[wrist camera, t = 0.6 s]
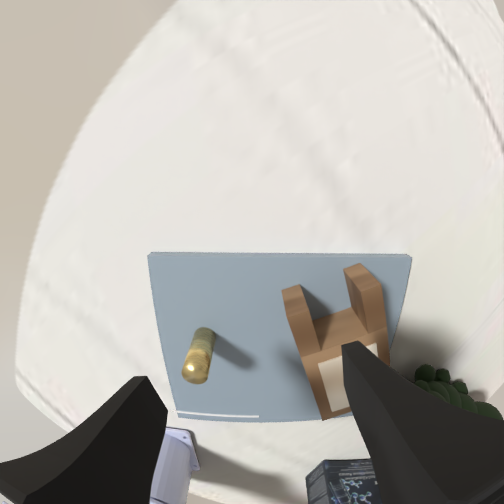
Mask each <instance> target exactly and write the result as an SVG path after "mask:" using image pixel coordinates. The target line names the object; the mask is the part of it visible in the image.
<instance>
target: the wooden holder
mask: <svg viewBox="0 0 504 504" xmlns="http://www.w3.org/2000/svg"><path fill="white" fill-rule="evenodd" d="M343 272H344V276H345V280H346V284H347V289H348V293H349V298H350V303H351V307H349V308H347V309H344V310H341V311H339V312H336V313H333V314H330V315H327V316H324V317H321V318H319V319H316V320H313V321H312V319H311V315H310V312H309V309H308V306H307V303H306V300H305V298H304V295H303V292H302V289H301V287H300V284H298V285H295V286H292V287H289V288H286V289H283V290H281V292H282V297H283V302H284V307H285V312H286V317H287V320H288V323H289V326H290V328H291V331H292V334H293V337H294V340H295V343H296V345H297V348H298V351H299V354H300V357H301V360H302V363H303V366H304V368H305V371H306V374H307V377H308V380H309V383H310V386H311V389H312V392H313V394H314V397H315V400H316V403H317V406H318V409H319V412H320V415H321V418H322V421H323V420H327V419H330V418H333V417H336V416H339V415H343V414H346V413H348V412H351V409H350V405H349V402H348V399H347V395H346V391H345V388H344V382H343V364H342V350H341V345H343V344H347V343H350V342H354V341H357V340H358V341H360V342H361V343H362V344H363V345H365V346H366V347H367V348H368V349H369V350H370V351H371V352H372V353H374V354H375V355H376V356H377V357H378V358H380V359H381V360H382V361H383V362H384V363H386V364H387V365H388V366H390V356H389V344H388V333H387V324H386V315H385V307H384V300H383V293H382V286H381V283H380V282H379V281H378V280H377V279H376V278H375V277H374V276H373V275H372V274H371V273H370V272H369V271H368V270H367V269H366V268H365V267H364V266H363V265H362V264H361V263H358V264H355V265H353V266H350V267H347V268H344V269H343Z"/></svg>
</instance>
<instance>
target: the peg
mask: <svg viewBox="0 0 504 504" xmlns="http://www.w3.org/2000/svg"><path fill="white" fill-rule="evenodd" d="M215 341H216V335H215V333H214V331H213V330H211V329H209V328H206V327H201V328H198V329H197V330H196V331H195V332H194V335H193V338H192V341H191V344H190V347H189V350H188V353H187V356H186V359H185V362H184V365H183V368H182V371H181V374H182V377H183V378H184V379H185V380H186V381H187V382H189V383H192V384H203V383H205V382H206V381H207V379H208V374H209V370H210V365H211V360H212V355H213V351H214V346H215Z"/></svg>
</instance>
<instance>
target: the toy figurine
mask: <svg viewBox="0 0 504 504" xmlns="http://www.w3.org/2000/svg"><path fill="white" fill-rule="evenodd" d="M415 381H416V382H415V383H414V384H415V385H416V386H418V387H420V388H421V389H423V390H425V391H426V392H428V393H430V394H432V395H433V396H435V397H437V398H439V399H441V400H443V401H445V402H448V403H450V404H452V405H454V406H457V407H460V408H462V409H465V410H468V411H471V412H473V413H476V414H479V415H483V416H487V417H491V418H495V419H499V420H503V417H502V415H501V414H500V412H499V411H498V410H497V408H495V407H494V406H492V405H491V404H489V403H486V402H474V400H473V399H472V398H471V397H470V396H468V395H467V394H468V390H467V386H466V384H465V383H463V382H458V381H457V382H455V383H453V384H452V385H450V384H448V383H449V381H450V374H449V371H448V370H445V369H440V370H438V371H437V372H435V369H434V368H433V367H432V366H431V365H428V364H425V365H421V366H420V367H419V368H418V369H417V370H416V372H415Z"/></svg>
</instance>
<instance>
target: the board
mask: <svg viewBox="0 0 504 504" xmlns="http://www.w3.org/2000/svg"><path fill="white" fill-rule="evenodd" d="M147 257H148V266H149V274H150V281H151V289H152V295H153V302H154V308H155V314H156V320H157V326H158V331H159V337H160V342H161V347H162V352H163V356H164V361H165V366H166V370H167V374H168V379H169V383H170V387H171V391H172V395H173V399H174V402H175V406H176V410H171V411H172V412H177V413H178V417H180V418H188V419H198V420H210V421H226V422H291V421H307V420H319V419H322V418H321V415H320V412H319V409H318V406H317V403H316V400H315V397H314V394H313V392H312V389H311V386H310V383H309V380H308V377H307V374H306V371H305V368H304V366H303V363H302V360H301V357H300V354H299V351H298V348H297V345H296V343H295V340H294V337H293V334H292V331H291V328H290V326H289V323H288V320H287V317H286V312H285V307H284V302H283V297H282V292H281V290H283V289H286V288H289V287H292V286H295V285H298V284H300V287H301V289H302V292H303V295H304V298H305V300H306V303H307V306H308V309H309V312H310V315H311V319H312V321H313V320H316V319H319V318H321V317H324V316H327V315H330V314H333V313H336V312H339V311H341V310H344V309H347V308H349V307H351V303H350V298H349V293H348V289H347V284H346V280H345V276H344V272H343V269H344V268H347V267H350V266H353V265H355V264H358V263H361V264H362V265H363V266H364V267H365V268H366V269H367V270H368V271H369V272H370V273H371V274H372V275H373V276H374V277H375V278H376V279H377V280H378V281H379V282H380V283H381V286H382V293H383V300H384V307H385V315H386V324H387V333H388V344H389V351H390V348H391V344H392V341H393V338H394V334H395V331H396V327H397V323H398V320H399V316H400V312H401V308H402V304H403V300H404V295H405V291H406V286H407V281H408V276H409V271H410V266H411V260H412V257H410V256H409V255H407V254H317V253H191V252H151V253H150V254H149V255H148V256H147ZM201 327H206V328H209V329H211V330H213V331H214V333H215V335H216V341H215V346H214V351H213V355H212V360H211V365H210V370H209V374H208V379H207V381H206V382H205V383H203V384H192V383H189V382H187V381H186V380H185V379H184V378H183V377H182V374H181V371H182V368H183V365H184V362H185V359H186V356H187V353H188V350H189V347H190V344H191V341H192V338H193V335H194V332H195V331H196V330H197V329H198V328H201ZM345 416H353V413H352V411H351V412H348V413H346V414H343V415H339V416H336V417H333V418H338V417H345Z"/></svg>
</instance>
